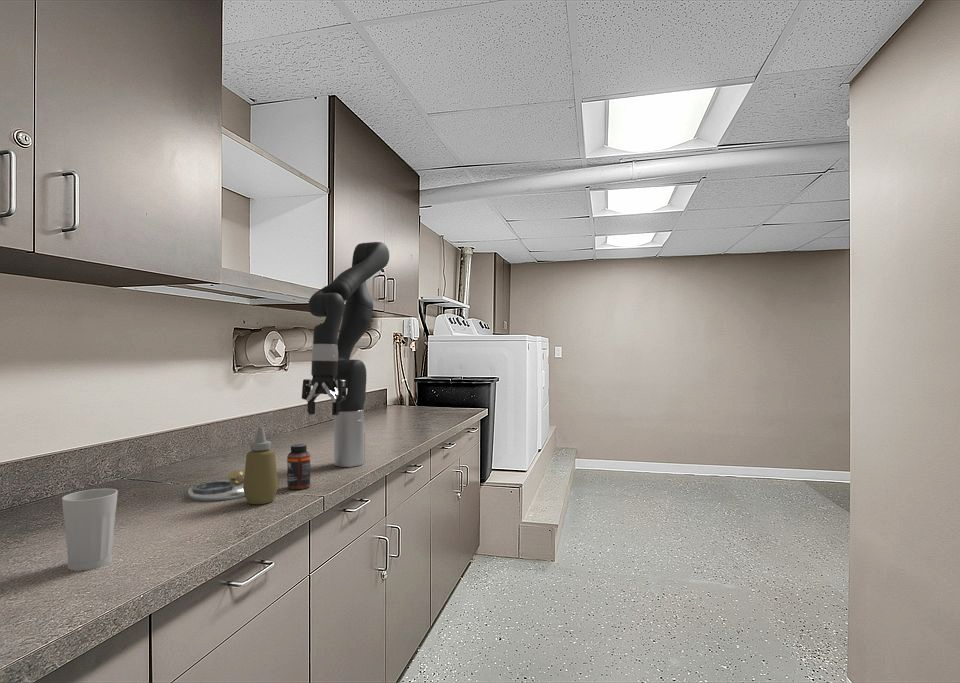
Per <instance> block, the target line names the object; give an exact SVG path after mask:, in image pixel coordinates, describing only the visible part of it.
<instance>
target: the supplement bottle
mask: <svg viewBox="0 0 960 683" xmlns="http://www.w3.org/2000/svg"><path fill="white" fill-rule="evenodd" d="M286 460H287V461H286V465H287V467H286V468H287V470H286V473H287V475H286V476H287V484H286V485H287V488H288V490H295V491H296V490H297V491H299V490H305V489H308V488H309V487H311V484H312V482H311V481H312V479H311V478H312V477H311V473H312V472H311V469H312V468H311V466H312V465H311V454H310V452H308V447H307V444H306V443H295V444H292V445H290V452H289V453H288V454H287V459H286Z"/></svg>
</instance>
